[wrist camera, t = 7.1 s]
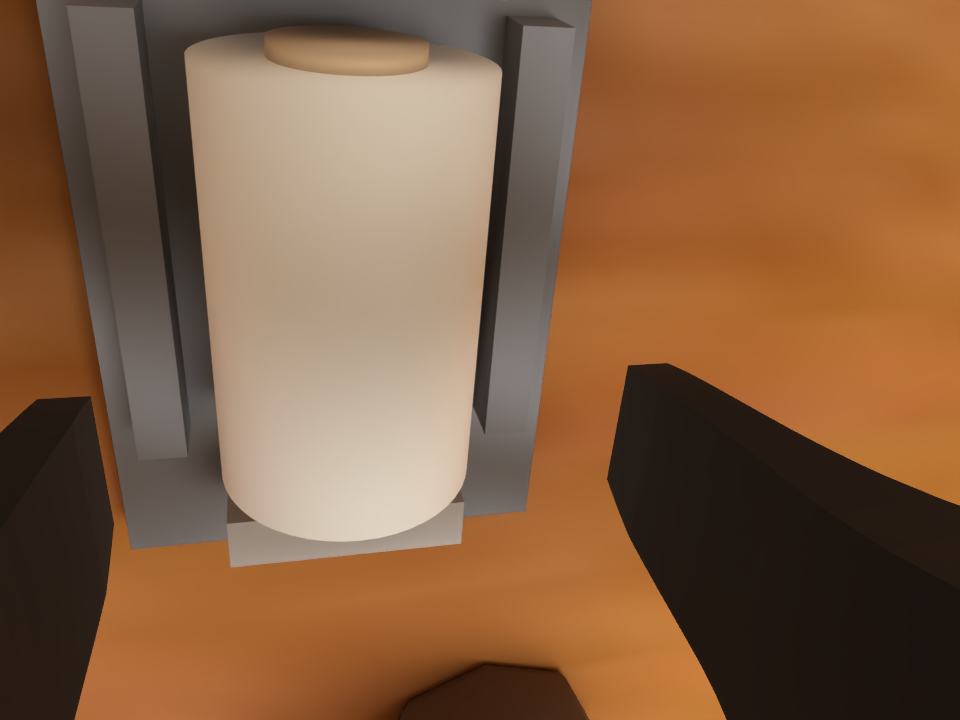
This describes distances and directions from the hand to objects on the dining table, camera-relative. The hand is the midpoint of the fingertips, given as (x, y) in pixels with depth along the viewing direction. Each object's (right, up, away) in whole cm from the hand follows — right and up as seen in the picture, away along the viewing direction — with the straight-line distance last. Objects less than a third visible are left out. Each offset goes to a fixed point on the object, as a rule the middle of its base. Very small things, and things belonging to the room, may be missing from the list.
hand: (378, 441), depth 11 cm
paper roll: (-2, +4, +6) cm, 7 cm away
